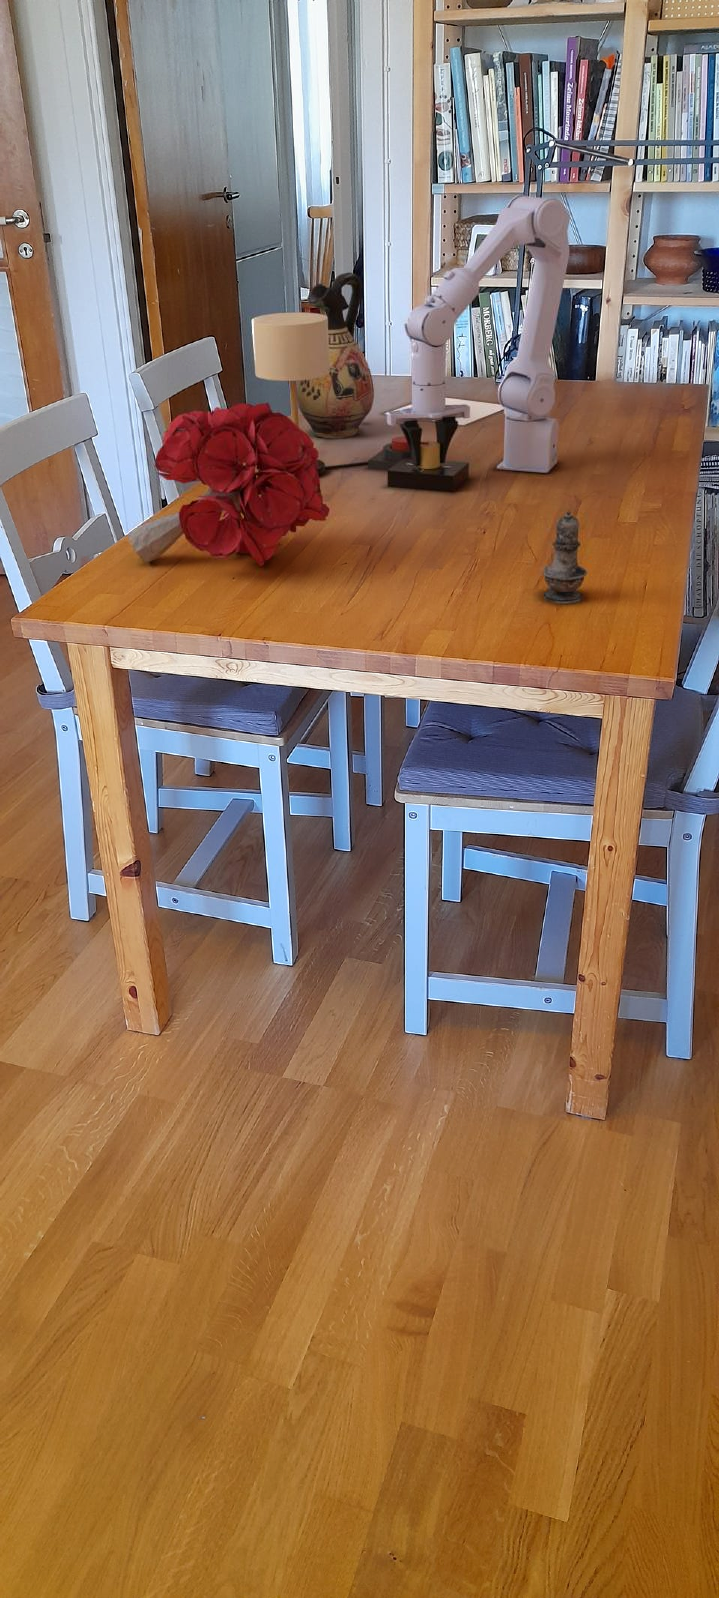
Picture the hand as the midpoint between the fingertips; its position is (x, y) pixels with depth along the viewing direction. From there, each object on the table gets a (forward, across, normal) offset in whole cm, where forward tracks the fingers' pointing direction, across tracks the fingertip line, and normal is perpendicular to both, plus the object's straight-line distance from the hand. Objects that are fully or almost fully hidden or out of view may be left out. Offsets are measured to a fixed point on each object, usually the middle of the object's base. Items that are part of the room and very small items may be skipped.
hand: (428, 463), depth 208 cm
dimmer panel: (+3, 0, 0) cm, 3 cm away
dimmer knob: (0, 0, 0) cm, 0 cm away
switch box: (+3, 0, +12) cm, 13 cm away
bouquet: (+4, -41, -26) cm, 49 cm away
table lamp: (+3, -16, +15) cm, 23 cm away
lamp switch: (0, 0, +12) cm, 12 cm away
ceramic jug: (+4, -3, +41) cm, 42 cm away
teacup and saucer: (+4, +24, +51) cm, 56 cm away
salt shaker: (+4, -3, -58) cm, 58 cm away
